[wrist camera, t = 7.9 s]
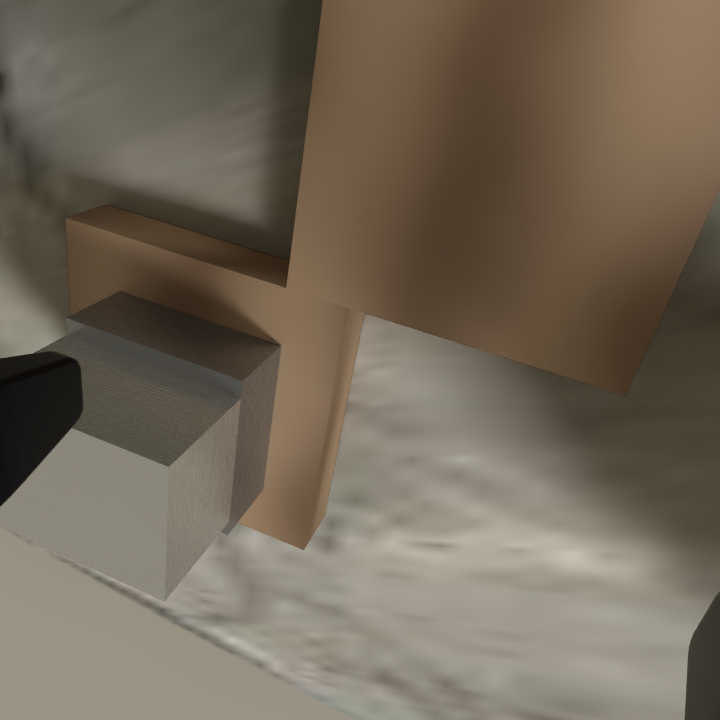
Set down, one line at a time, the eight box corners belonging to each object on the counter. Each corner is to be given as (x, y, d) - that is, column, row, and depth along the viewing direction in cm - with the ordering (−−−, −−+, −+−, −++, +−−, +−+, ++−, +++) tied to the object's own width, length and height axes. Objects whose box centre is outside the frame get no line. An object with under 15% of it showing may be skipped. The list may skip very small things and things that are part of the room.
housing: (281, 345, 20) (169, 447, 15) (263, 489, 23) (164, 615, 18) (120, 290, 21) (-34, 367, 16) (122, 433, 24) (-8, 536, 19)
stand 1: (370, 285, 20) (348, 308, 19) (324, 516, 25) (303, 550, 24) (106, 204, 23) (65, 217, 21) (111, 431, 28) (78, 456, 26)
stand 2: (799, -32, 14) (824, -42, 12) (624, 364, 19) (625, 396, 17) (367, -104, 16) (338, -121, 14) (312, 268, 21) (286, 288, 19)
